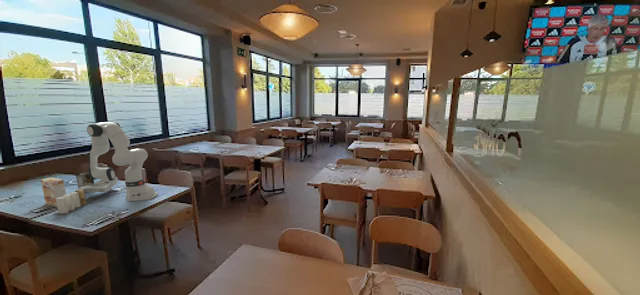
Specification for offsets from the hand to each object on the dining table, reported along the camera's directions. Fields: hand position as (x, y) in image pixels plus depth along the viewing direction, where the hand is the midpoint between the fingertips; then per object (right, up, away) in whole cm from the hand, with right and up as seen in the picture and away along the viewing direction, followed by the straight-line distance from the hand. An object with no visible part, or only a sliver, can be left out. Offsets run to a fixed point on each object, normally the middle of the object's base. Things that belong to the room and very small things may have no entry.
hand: (86, 192), depth 205 cm
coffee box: (-20, -4, +23) cm, 31 cm away
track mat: (0, -9, -7) cm, 11 cm away
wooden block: (0, -8, -5) cm, 9 cm away
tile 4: (+1, -11, -19) cm, 22 cm away
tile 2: (0, -9, -10) cm, 13 cm away
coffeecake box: (-21, -9, -2) cm, 23 cm away
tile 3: (+1, -10, -15) cm, 18 cm away
